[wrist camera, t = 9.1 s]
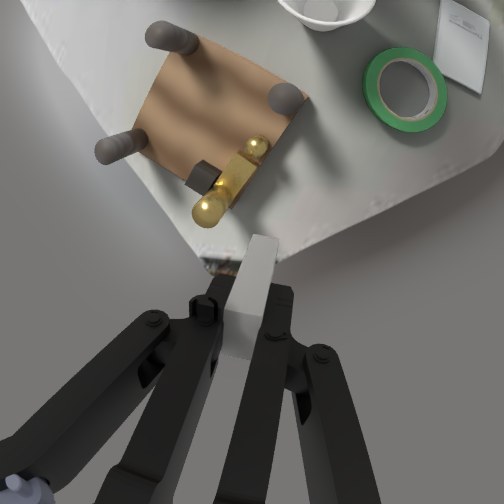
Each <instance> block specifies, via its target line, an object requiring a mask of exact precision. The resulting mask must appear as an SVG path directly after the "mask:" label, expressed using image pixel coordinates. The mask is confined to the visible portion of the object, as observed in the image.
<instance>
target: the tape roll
mask: <svg viewBox="0 0 504 504" xmlns="http://www.w3.org/2000/svg"><path fill="white" fill-rule="evenodd" d="M392 62H405V63H409V64H411V65H413V66H414V67H416V68H417V69H418V70H419V71H420V72H421V73H422V74H423V75H424V77H425V79H426V81H427V83H428V87H429V100H428V103H427V105H426V107H425V108H424V110H423V111H422V112H421V113H419V114H418V115H416V116H413V117H400V116H398V115H397V114H395V113H394V112H393V111H391V110H390V109H389V108H388V107H387V106H386V104H385V103H384V101H383V99H382V97H381V94H380V89H379V81H380V77H381V74H382V72H383V70H384V69H385V67H387V66H388V65H389V64H390V63H392ZM362 87H363V93H364V97H365V100H366V102H367V104H368V106H369V108H370V109H371V111H372V112H373V113H374V114H375V116H376V117H377V118H379V119H380V120H381V121H382V122H384V123H385V124H387V125H389V126H391V127H393V128H395V129H398V130H401V131H404V132H421V131H424V130H427V129H429V128H430V127H432V126H433V125H435V124H436V123H437V122H438V121H439V120H440V118H441V117H442V115H443V113H444V111H445V108H446V104H447V88H446V83H445V80H444V78H443V75H442V73H441V72H440V70H439V69H438V67H437V66H436V65H435V63H434V62H433V61H432V60H431V59H429V58H428V57H427V56H426V55H424V54H423V53H421V52H419V51H416V50H414V49H411V48H405V47H396V48H391V49H388V50H385V51H383V52H381V53H379V54H378V55H376V56H375V57H374V58H373V59H372V60H371V61H370V62H369V63H368V65H367V67H366V68H365V71H364V74H363V80H362Z"/></svg>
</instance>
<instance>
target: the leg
mask: <svg viewBox="0 0 504 504" xmlns="http://www.w3.org/2000/svg"><path fill="white" fill-rule="evenodd" d="M268 147H269V142H268V139H267V138H266V137H265V136H263V135H259V134H258V135H254V136H253V137H251V138H250V139H249V140H248V141H247V142H246V143H245V146H244V149H245V152H246V154H245V153H244V152H243V151H241V150H239V151H238V152H236V154H235V155H234V156H233V158H232V159H231V161H230V162H229V164H228V165H227V167H226V168H225V169H224V171H223V172H222V174H221V175H220V177H219V178H218V180H217V181H216V183H215V184H214V186H213V187H212V188H211V189H210V190H209V191H208V192H207V193H206V194H205V195H204V196H203V197H202V198H201V199H200V200H199V201H198V202H197V203H196V204H195V205H194V207H193V209H192V217H193V219H194V221H195V222H196V224H198V225H199V226H201V227H203V228H212V227H214V226H216V225H217V224H218V222H219V221H220V219H221V218H222V216H223V215H224V213H225V212H226V210H227V209H228V207H229V206H230V204H231V203H232V202H233V200H234V199H235V196H236V195H237V194H238V192H239V191H240V189H241V188H242V187H243V185H244V184H245V183H246V181H247V180H248V179H249V177H250V176H251V175H252V173H253V172H254V171H255V169H256V168H257V167H258V165H259V163H258V162H257V161H255V160H254V159H252V158H259V157H261V156H262V155H263V154H264V153H265V152H266V150H267V149H268Z"/></svg>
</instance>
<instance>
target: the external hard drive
mask: <svg viewBox="0 0 504 504" xmlns="http://www.w3.org/2000/svg"><path fill="white" fill-rule="evenodd" d="M489 28H490V22H489V21H488V20H486V19H484V18H483V17H481V16H479V15H478V14H476V13H474V12H473V11H471V10H469V9H468V8H466V7H464V6H462V5H460V4H458V3H457V2H455V1H453V0H440V8H439V17H438V26H437V34H436V41H435V47H434V54H433V60H432V61H433V62H434V63H435V65H436V66H437V67H438V69H439V70H440V72H441V73H442V75H443V76H444V77H446V78H449V79H451V80H453V81H455V82H457V83H459V84H460V85H462V86H464V87H466V88H468V89H470V90H472V91H473V92H475V93H477V94H481V92H482V86H483V80H484V74H485V67H486V59H487V51H488V41H489Z"/></svg>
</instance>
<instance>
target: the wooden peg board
mask: <svg viewBox="0 0 504 504" xmlns="http://www.w3.org/2000/svg"><path fill="white" fill-rule="evenodd" d="M145 41H146V43H147V45H148V46H150V47H152V48H156V49H161V50H165V51H169V52H170V53H169V55H168V57H167V58H166V60H165V62H164V64H163V66H162V67H161V69H160V71H159V73H158V75H157V77H156V79H155V81H154V83H153V85H152V87H151V89H150V91H149V93H148V95H147V97H146V99H145V101H144V103H143V106H142V108H141V110H140V112H139V114H138V116H137V119H136V121H135V123H134V126H133V128H132V130H130V131H126V132H123V133H120V134H116V135H113V136H110V137H107V138H104V139H101V140H99V141H98V142H97V144H96V146H95V156H96V158H97V160H98V161H99V162H100V163H101V164H103V165H108V164H111V163H113V162H115V161H117V160H119V159H122V158H124V157H126V156H129V155H131V154H133V153H136V152H140V153H141V154H143V155H145V156H146V157H148V158H150V159H151V160H153V161H154V162H156V163H158V164H159V165H161V166H163V167H164V168H166V169H168V170H169V171H171V172H172V173H174V174H176V175H177V176H179V177H181V178H182V179H184V180H185V181H186V183H185V185H186V186H188V187H189V188H191V189H193V190H194V191H196V192H197V193H199V194H201V195H202V196H204V195H205V194H206V193H207V192H208V191H209V190H210V189H211V188H212V187H213V186H214V184H215V183H216V181H217V180H218V178H219V177H220V175H221V174H222V172H223V171H224V169H225V168H226V167H227V165H228V164H229V162H230V161H231V159H232V158H233V156H234V155H235V154H236V152H238V151H239V150H241V151H243V152H244V153H245V154H246V152H245V149H244V146H245V143H246V142H247V141H248V140H249V139H250V138H251V137H253V136H254V135H258V134H259V135H263V136H265V137H266V138H267V139H268V142H269V147H268V149H267V150H266V152H265V153H264V154H263V155H262V156H261V157H259V158H252V159H254V160H255V161H257V162H258V163H259V165H258V167H257V168H256V169H255V171H254V172H253V173H252V175H251V176H250V177H249V179H248V180H247V181H246V183H245V184H244V185H243V187H242V188H241V189H240V191H239V192H238V194H237V195H236V196H235V199H234V200H233V202H232V203H231V204H230V206H229V208H230V209H232V208H233V207H234V205H235V204H236V202H237V201H238V199H239V197H240V196H241V194H242V193H243V191H244V190H245V188H246V187H247V185H248V184H249V182H250V181H251V179H252V178H253V176H254V174H255V173H256V171H257V170H258V168H259V167H260V165H261V164H262V162H263V161H264V159H265V158H266V156H267V155H268V153H269V152H270V151H271V149H272V148H273V146H274V145H275V143H276V142H277V140H278V139H279V137H280V136H281V134H282V133H283V131H284V130H285V128H286V127H287V126H288V124H289V123H290V121H291V120H292V118H293V117H294V115H295V114H296V113H297V111H298V110H299V108H300V107H301V105H302V104H303V103H304V101H305V100H306V98H307V97H308V96H309V95H307V94H305V93H304V92H302V91H301V90H299V89H298V88H297V87H296V86H295V85H293V84H290V83H288V82H286V81H285V80H283V79H281V78H280V77H278V76H276V75H275V74H273V73H271V72H269V71H268V70H266V69H264V68H262V67H261V66H259V65H257V64H255V63H253V62H252V61H250V60H248V59H246V58H244V57H242V56H240V55H238V54H236V53H234V52H232V51H230V50H228V49H226V48H224V47H222V46H220V45H218V44H216V43H214V42H212V41H209V40H207V39H205V38H203V37H201V36H198V35H196V34H194V33H192V32H189V31H187V30H185V29H183V28H180V27H178V26H176V25H173V24H171V23H169V22H166V21H157V22H155V23H153V24H152V25H150V26H149V28H148V29H147V31H146V33H145Z"/></svg>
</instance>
